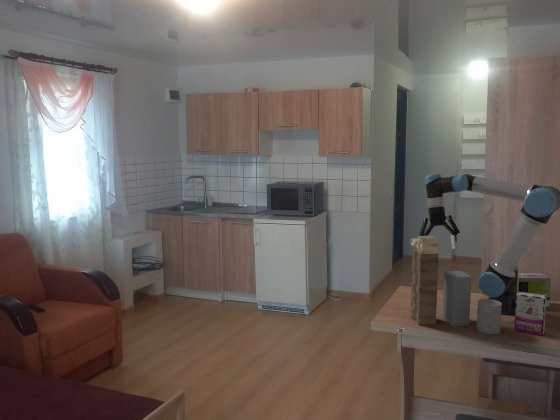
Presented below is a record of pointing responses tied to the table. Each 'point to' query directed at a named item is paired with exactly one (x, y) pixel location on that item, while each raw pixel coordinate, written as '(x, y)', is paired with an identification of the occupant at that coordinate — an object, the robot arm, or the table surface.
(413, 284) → the walnut plinth
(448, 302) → the grey pedestal
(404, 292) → the table surface
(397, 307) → the table surface
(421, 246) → the tan wooden bar
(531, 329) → the candy bar box
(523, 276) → the tea box
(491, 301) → the concrete cylinder
